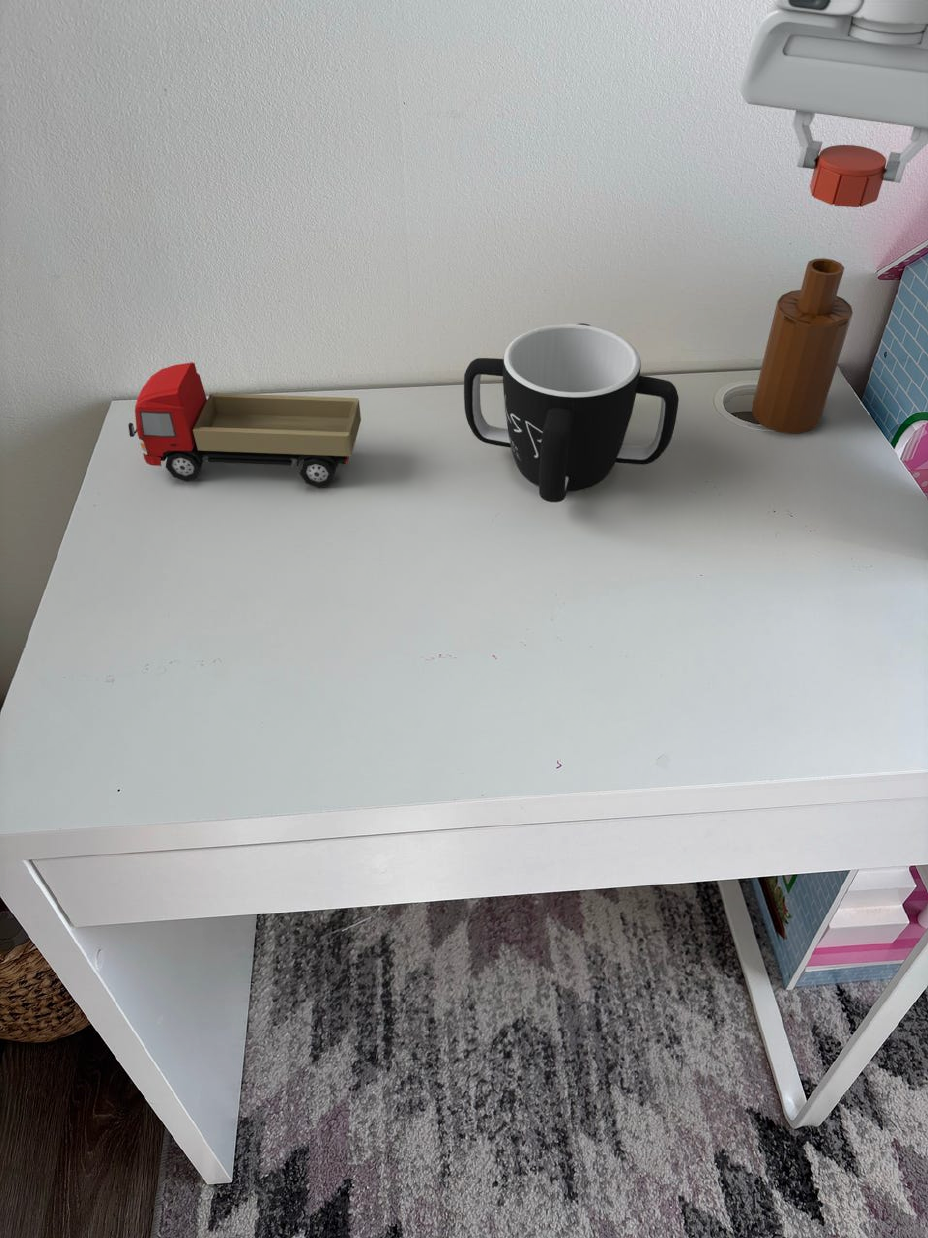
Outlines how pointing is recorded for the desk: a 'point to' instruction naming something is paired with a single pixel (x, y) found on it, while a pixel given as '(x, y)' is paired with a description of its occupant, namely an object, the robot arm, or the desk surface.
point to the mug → (569, 406)
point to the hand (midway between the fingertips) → (848, 172)
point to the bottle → (803, 351)
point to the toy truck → (241, 427)
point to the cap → (848, 175)
